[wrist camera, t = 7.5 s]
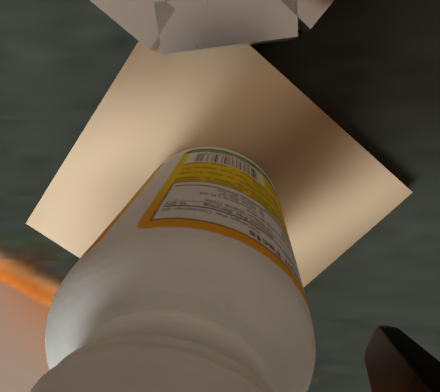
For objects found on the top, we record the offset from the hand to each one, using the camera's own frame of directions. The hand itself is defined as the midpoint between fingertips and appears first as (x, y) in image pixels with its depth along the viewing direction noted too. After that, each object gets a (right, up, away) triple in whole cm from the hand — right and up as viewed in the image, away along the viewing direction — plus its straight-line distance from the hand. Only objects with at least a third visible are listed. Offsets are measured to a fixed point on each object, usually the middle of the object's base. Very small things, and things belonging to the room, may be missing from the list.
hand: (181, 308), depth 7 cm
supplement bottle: (0, +2, +5) cm, 6 cm away
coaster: (0, +2, +6) cm, 6 cm away
